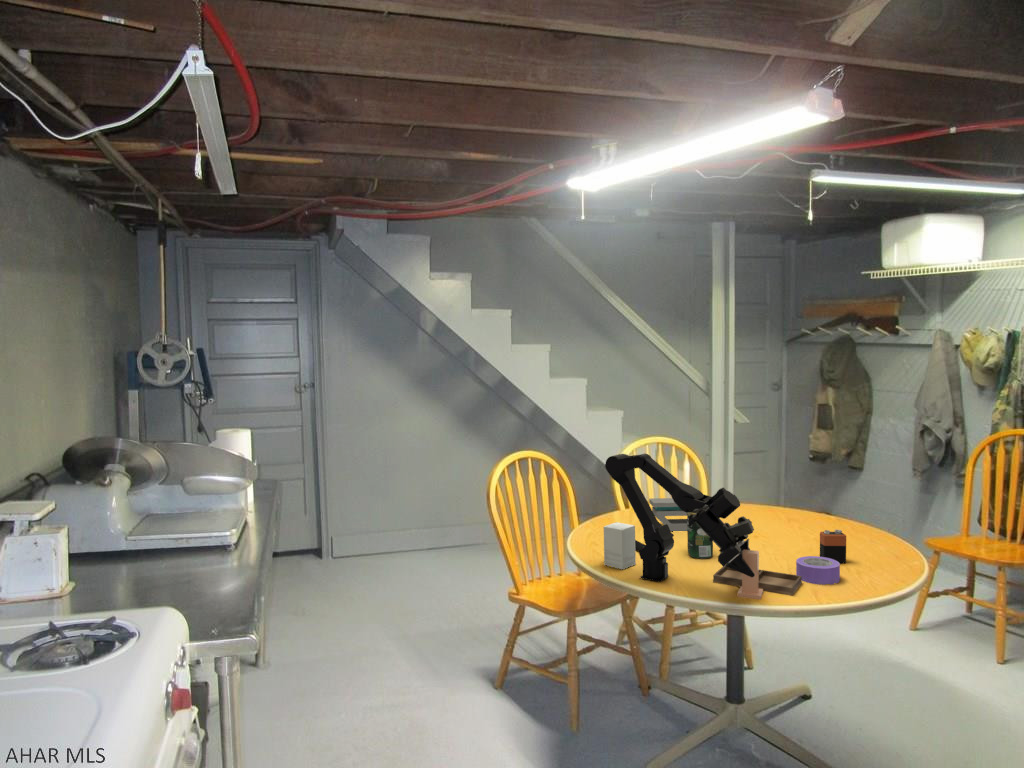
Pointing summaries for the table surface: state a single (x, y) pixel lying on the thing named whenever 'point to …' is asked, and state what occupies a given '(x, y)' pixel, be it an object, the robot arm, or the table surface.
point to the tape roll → (818, 570)
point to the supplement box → (619, 545)
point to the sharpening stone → (669, 513)
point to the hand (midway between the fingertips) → (755, 571)
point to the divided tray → (761, 580)
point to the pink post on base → (751, 583)
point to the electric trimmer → (639, 545)
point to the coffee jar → (698, 540)
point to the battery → (833, 545)
